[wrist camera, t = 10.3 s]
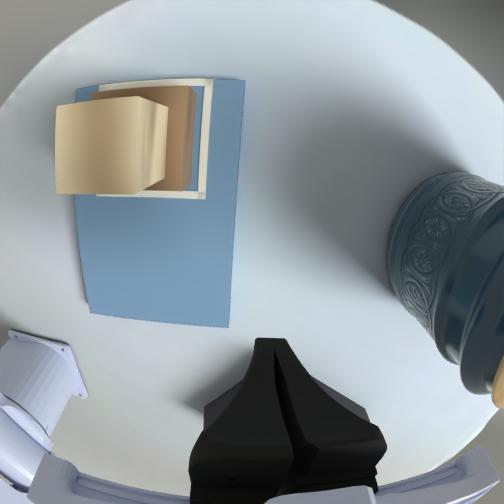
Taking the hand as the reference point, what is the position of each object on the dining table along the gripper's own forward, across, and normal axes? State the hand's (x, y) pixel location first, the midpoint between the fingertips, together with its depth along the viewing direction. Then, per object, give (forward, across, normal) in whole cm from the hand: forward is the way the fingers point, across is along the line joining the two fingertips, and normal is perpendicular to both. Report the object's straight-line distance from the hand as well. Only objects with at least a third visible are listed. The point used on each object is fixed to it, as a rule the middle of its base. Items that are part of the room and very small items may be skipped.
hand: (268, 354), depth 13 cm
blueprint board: (+10, +8, -4) cm, 13 cm away
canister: (+10, -16, -3) cm, 19 cm away
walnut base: (+9, +8, -9) cm, 15 cm away
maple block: (+6, +8, -9) cm, 13 cm away
